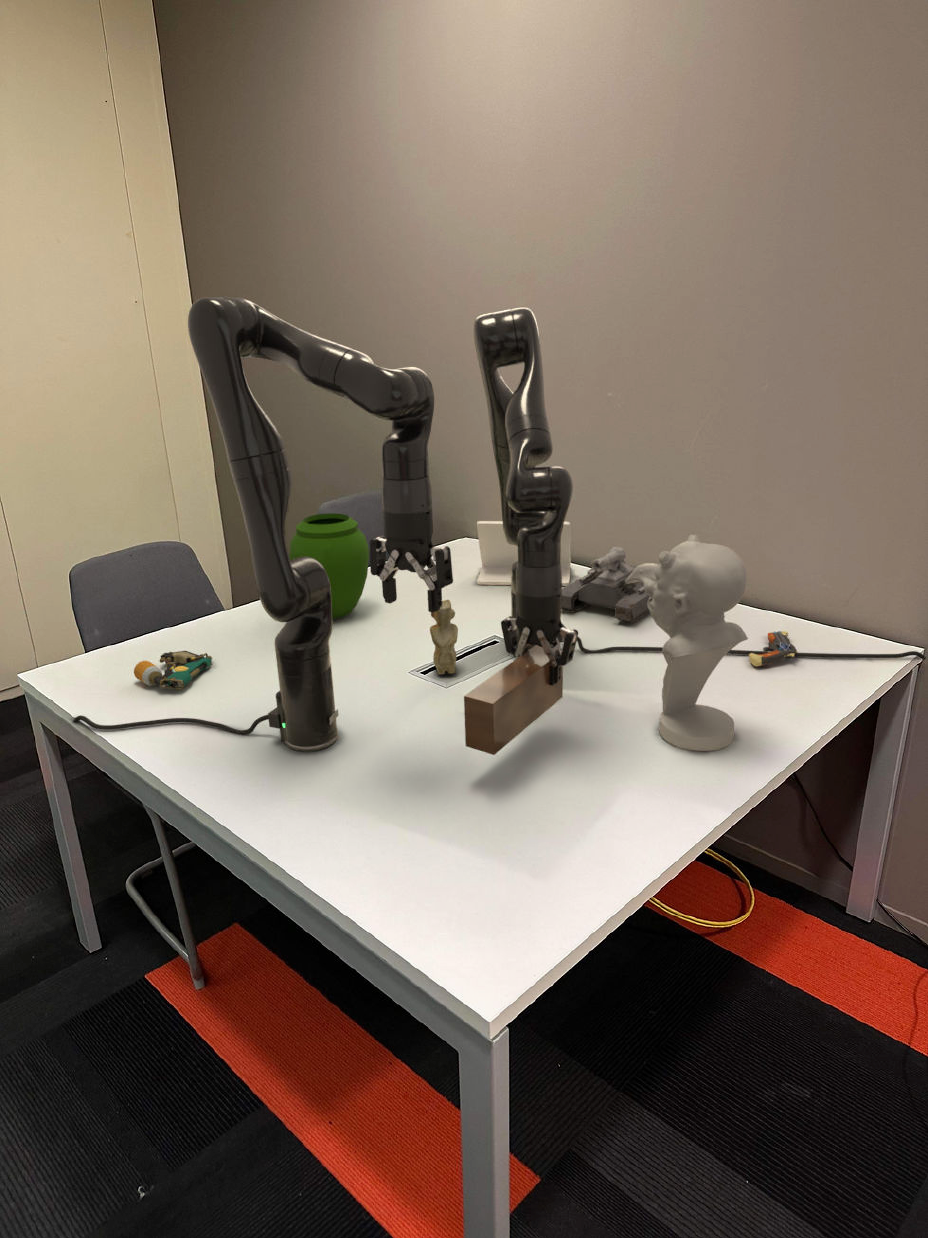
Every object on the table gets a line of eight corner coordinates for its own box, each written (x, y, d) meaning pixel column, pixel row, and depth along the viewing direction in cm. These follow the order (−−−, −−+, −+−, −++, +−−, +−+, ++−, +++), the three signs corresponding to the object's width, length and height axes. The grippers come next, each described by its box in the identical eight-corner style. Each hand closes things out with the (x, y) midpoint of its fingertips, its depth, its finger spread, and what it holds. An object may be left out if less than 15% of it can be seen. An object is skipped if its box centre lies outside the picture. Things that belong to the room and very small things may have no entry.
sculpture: (458, 662, 183) (456, 596, 178) (460, 676, 176) (457, 608, 171) (431, 663, 183) (428, 597, 177) (431, 677, 176) (428, 609, 171)
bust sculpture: (666, 688, 168) (677, 514, 156) (759, 738, 148) (779, 544, 136) (600, 707, 161) (606, 527, 149) (688, 763, 141) (703, 560, 129)
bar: (536, 690, 153) (536, 644, 150) (562, 697, 151) (563, 650, 147) (465, 746, 135) (463, 696, 132) (494, 755, 133) (493, 703, 129)
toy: (603, 584, 229) (605, 530, 224) (673, 597, 218) (677, 540, 213) (555, 612, 210) (556, 553, 205) (630, 627, 199) (633, 566, 194)
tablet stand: (569, 585, 229) (570, 524, 223) (476, 584, 232) (475, 523, 226) (570, 566, 246) (571, 508, 240) (484, 564, 249) (483, 507, 243)
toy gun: (751, 657, 175) (803, 654, 173) (740, 630, 193) (787, 626, 191) (752, 670, 176) (803, 667, 174) (741, 641, 194) (787, 638, 192)
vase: (389, 608, 216) (383, 514, 208) (339, 633, 201) (330, 533, 192) (330, 596, 226) (322, 506, 218) (278, 619, 211) (267, 523, 202)
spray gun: (177, 659, 191) (231, 671, 185) (120, 684, 176) (176, 698, 171) (176, 641, 190) (230, 653, 184) (118, 665, 175) (174, 678, 169)
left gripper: (354, 505, 130) (362, 606, 135) (431, 516, 122) (435, 621, 128) (385, 496, 135) (391, 592, 141) (460, 505, 128) (463, 606, 134)
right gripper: (490, 587, 142) (492, 679, 148) (567, 601, 135) (566, 698, 141) (512, 574, 148) (513, 664, 154) (588, 587, 140) (586, 681, 146)
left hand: (412, 606), depth 135 cm, fingers open, 8 cm apart
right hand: (538, 679), depth 147 cm, fingers closed on bar, 5 cm apart
